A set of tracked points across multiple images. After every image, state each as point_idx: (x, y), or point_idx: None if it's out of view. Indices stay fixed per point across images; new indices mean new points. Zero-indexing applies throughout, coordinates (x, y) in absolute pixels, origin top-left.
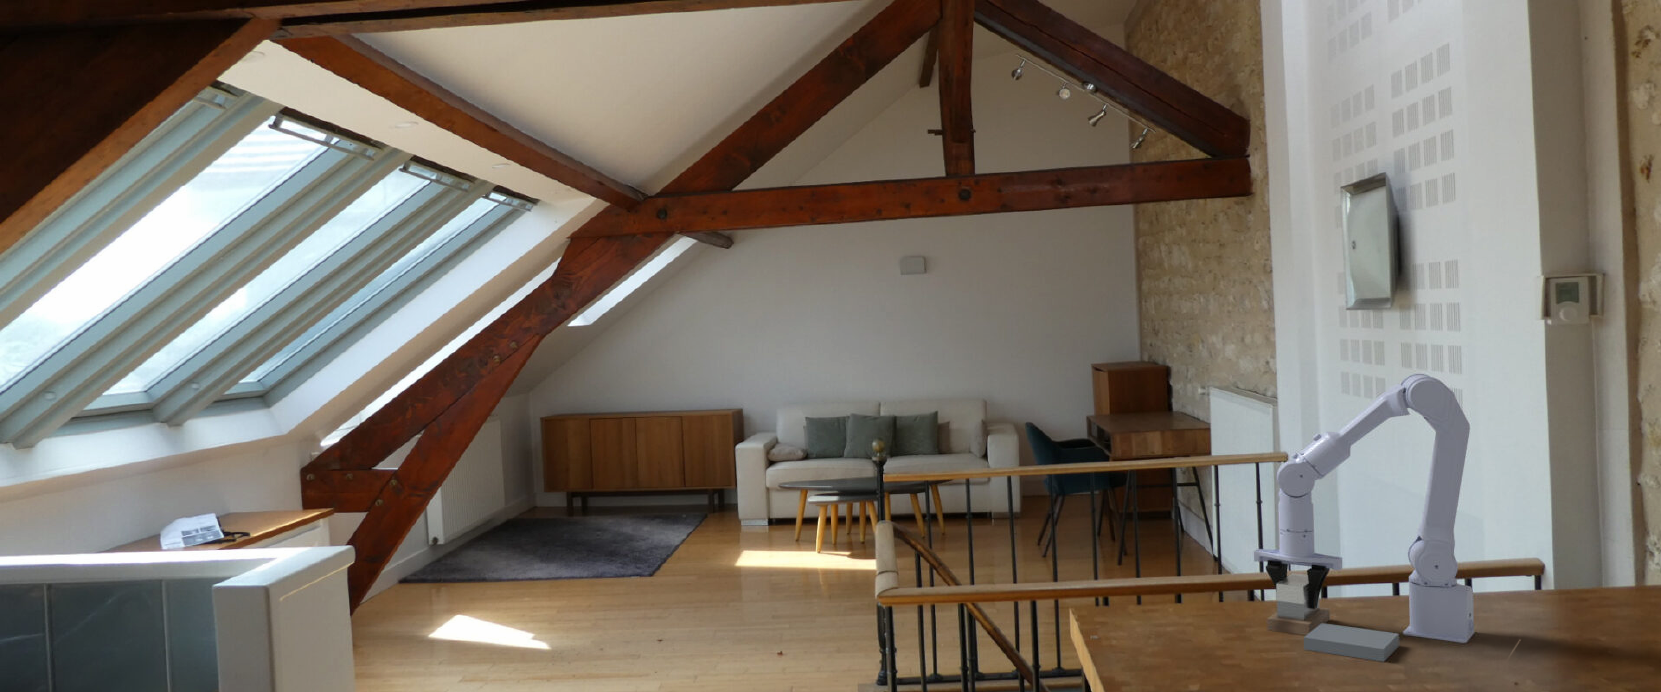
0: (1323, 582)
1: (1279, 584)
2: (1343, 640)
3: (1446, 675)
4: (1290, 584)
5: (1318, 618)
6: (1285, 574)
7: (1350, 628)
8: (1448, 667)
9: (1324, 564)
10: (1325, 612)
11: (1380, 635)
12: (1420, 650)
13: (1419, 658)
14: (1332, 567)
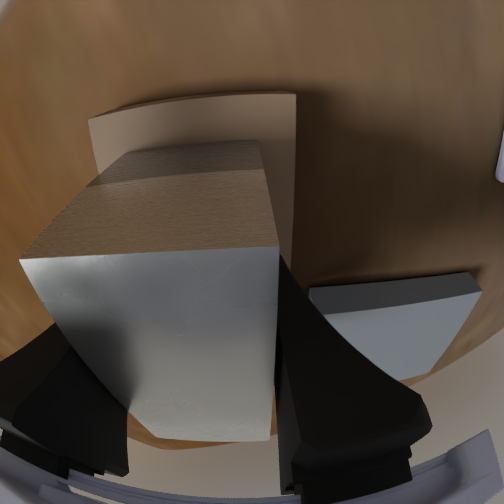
0: (346, 341)
1: (168, 436)
2: None
3: (475, 342)
4: (207, 436)
5: (290, 259)
6: (78, 380)
7: (395, 316)
8: (491, 316)
9: (384, 498)
10: (294, 164)
11: (447, 322)
12: (491, 266)
13: (474, 306)
14: (427, 469)
